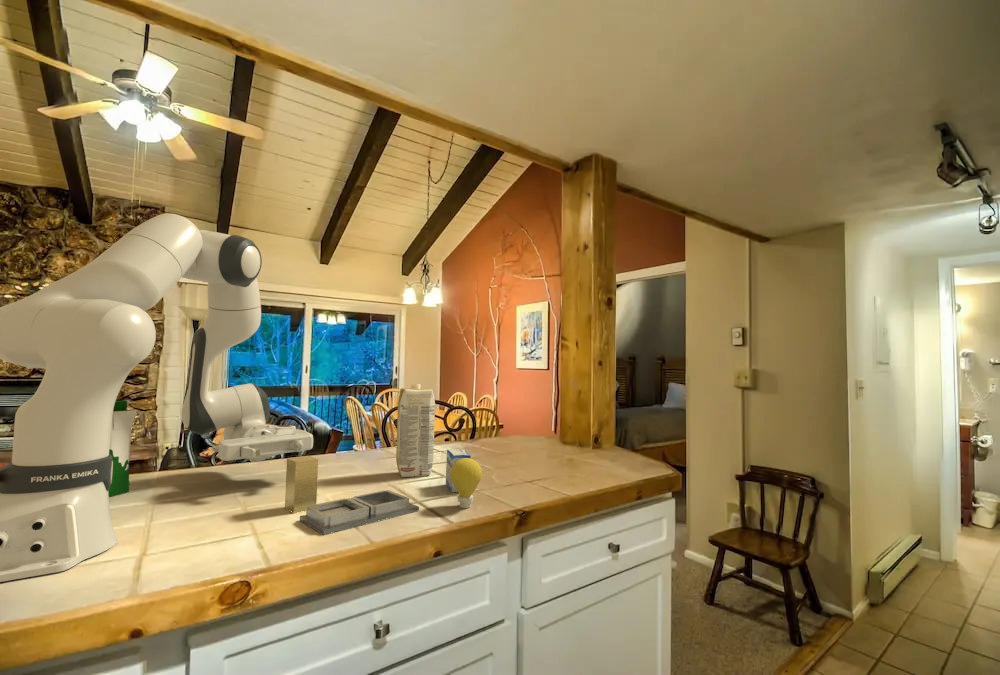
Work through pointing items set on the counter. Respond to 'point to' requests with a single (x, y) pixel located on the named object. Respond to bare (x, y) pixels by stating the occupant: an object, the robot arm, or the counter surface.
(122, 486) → the milk carton
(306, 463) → the wooden block
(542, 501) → the counter surface
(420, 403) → the juice carton
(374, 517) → the grey double tray
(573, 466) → the counter surface
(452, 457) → the medicine box
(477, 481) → the light bulb
